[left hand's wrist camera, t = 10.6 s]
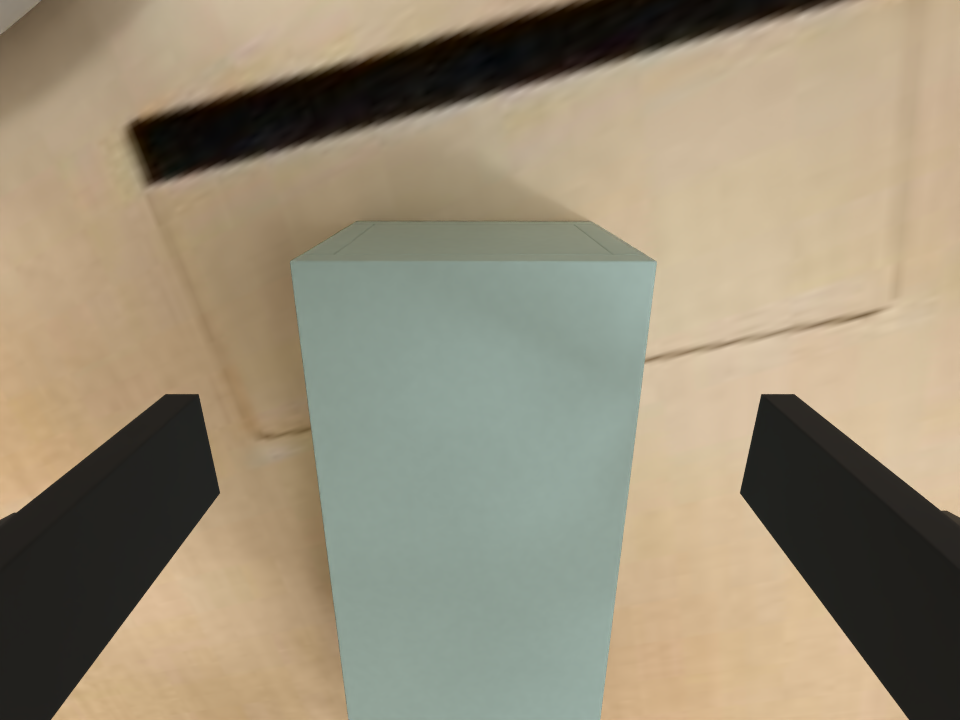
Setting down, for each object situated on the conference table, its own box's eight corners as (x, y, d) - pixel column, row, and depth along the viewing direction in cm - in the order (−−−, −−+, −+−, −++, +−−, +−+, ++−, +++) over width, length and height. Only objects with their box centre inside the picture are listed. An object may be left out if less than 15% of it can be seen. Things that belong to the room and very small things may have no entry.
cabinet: (563, 596, 32) (595, 758, 23) (385, 597, 32) (353, 760, 23) (593, 221, 24) (657, 261, 15) (355, 221, 24) (288, 260, 15)
